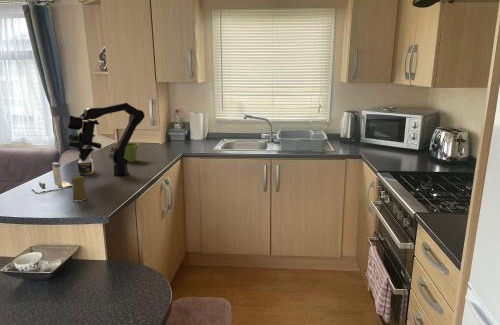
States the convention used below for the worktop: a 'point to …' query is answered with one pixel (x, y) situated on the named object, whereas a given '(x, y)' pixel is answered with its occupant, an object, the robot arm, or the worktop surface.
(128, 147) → the plant pot
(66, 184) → the base
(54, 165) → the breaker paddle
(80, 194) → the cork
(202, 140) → the worktop surface
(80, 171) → the medicine bottle
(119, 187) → the worktop surface
